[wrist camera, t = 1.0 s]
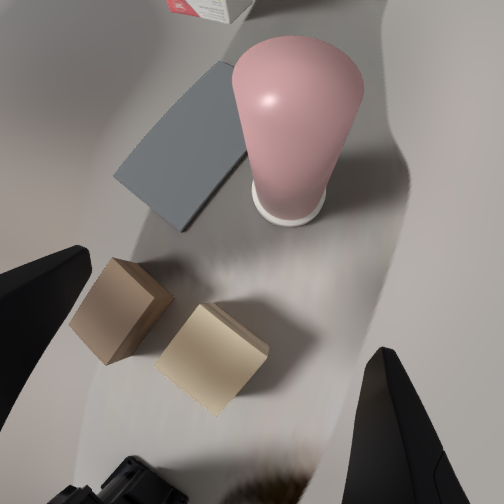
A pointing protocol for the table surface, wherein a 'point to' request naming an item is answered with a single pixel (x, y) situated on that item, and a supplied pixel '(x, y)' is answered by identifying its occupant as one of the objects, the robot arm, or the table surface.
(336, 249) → the table surface
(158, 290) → the walnut block
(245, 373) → the birch block
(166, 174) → the slate mat
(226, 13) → the ink cartridge box
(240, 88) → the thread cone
